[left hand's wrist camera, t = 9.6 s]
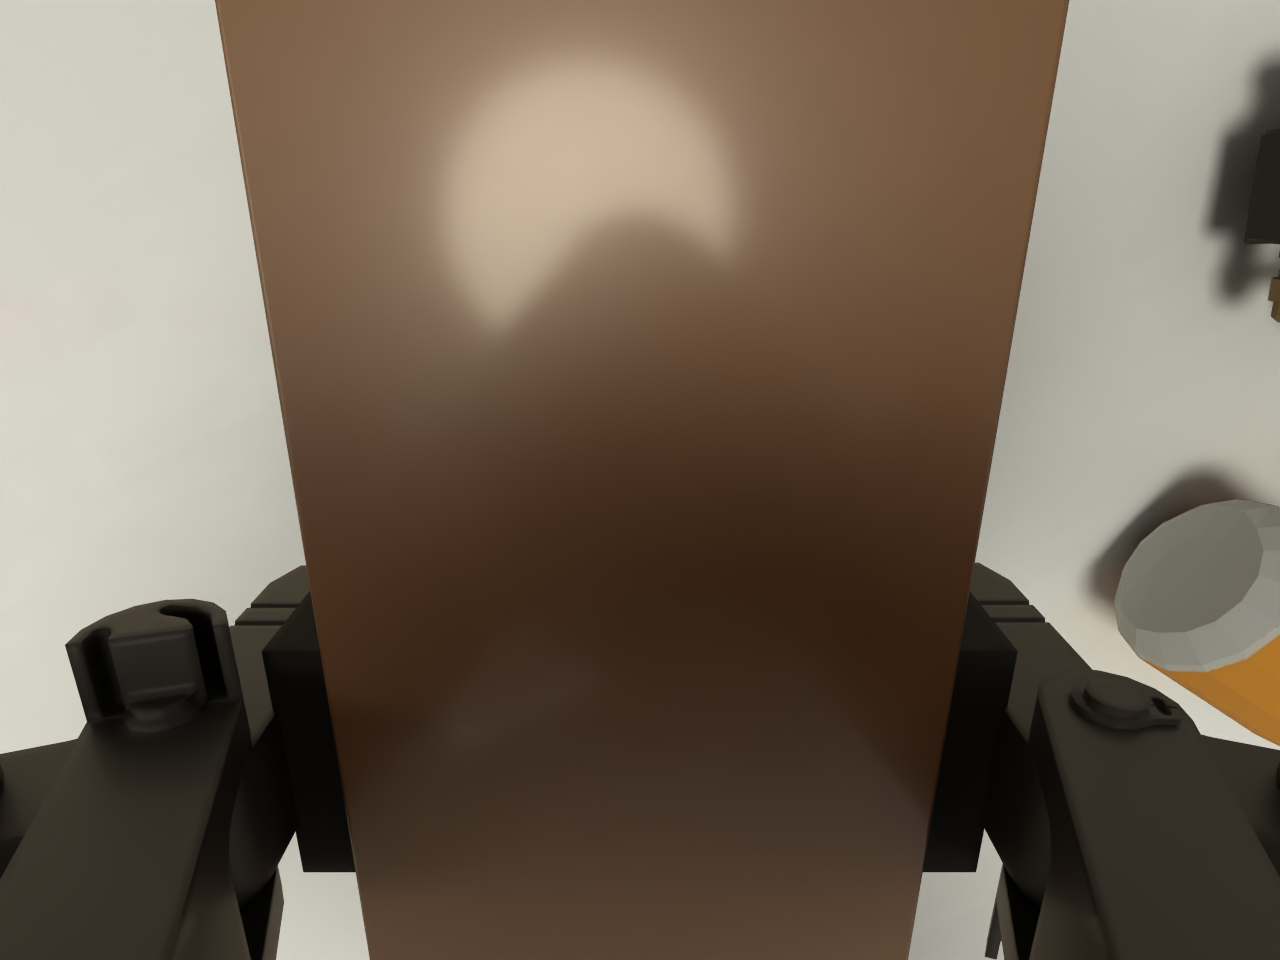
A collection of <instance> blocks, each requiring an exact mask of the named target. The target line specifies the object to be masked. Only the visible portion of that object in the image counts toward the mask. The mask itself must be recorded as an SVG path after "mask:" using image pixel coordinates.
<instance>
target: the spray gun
mask: <svg viewBox="0 0 1280 960" xmlns="http://www.w3.org/2000/svg"><path fill="white" fill-rule="evenodd" d="M1244 241H1245V242H1246V243H1247V244H1268V243H1273V244H1280V128H1279V129H1275V130H1270V131H1266V132H1265V133H1264V134H1263V135H1262V137H1261V143H1260V149H1259V155H1258V161H1257V167H1256V173H1255V179H1254V185H1253V191H1252V197H1251V204H1250V210H1249V216H1248V222H1247V228H1246V234H1245V240H1244ZM1279 258H1280V253H1279ZM1268 300H1269V301H1274V302H1273V307H1272V313H1271V317H1273V318H1274V319H1275V320H1276V321H1277V322H1280V270H1279V274H1278V277H1273V278H1272V280H1271V285H1270V291H1269V296H1268ZM1114 605H1115V611H1116V618H1117V624H1118V630H1119V632H1120V634H1121V635H1122V636H1123V638H1124V639H1125V640H1126V642H1127V643H1128V644H1129V646H1130V647H1131V648H1132V649H1133V651H1134V652H1135V653H1136V655H1137V656H1138V657H1139V658H1140V659H1142V660H1143V661H1145V662H1146V663H1148V664H1149V665H1151V666H1152V667H1154V668H1156V669H1157V670H1159V671H1160V672H1162V673H1163V674H1165V675H1166V676H1168V677H1169V678H1171V679H1172V680H1174V681H1175V682H1177V683H1178V684H1180V685H1181V686H1183V687H1184V688H1186V689H1187V690H1189V691H1190V692H1192V693H1194V694H1195V695H1197V696H1198V697H1200V698H1201V699H1203V700H1204V701H1206V702H1207V703H1209V704H1210V705H1212V706H1213V707H1215V708H1216V709H1218V710H1219V711H1221V712H1222V713H1224V714H1225V715H1227V716H1228V717H1230V718H1232V719H1233V720H1235V721H1236V722H1238V723H1239V724H1241V725H1242V726H1244V727H1245V728H1247V729H1248V730H1250V731H1251V732H1253V733H1254V734H1256V735H1258V736H1260V737H1262V738H1264V739H1266V740H1268V741H1270V742H1272V743H1274V744H1276V745H1278V746H1280V508H1279V507H1278V506H1273V505H1269V504H1263V503H1258V502H1252V501H1247V500H1241V499H1234V500H1228V501H1222V502H1216V503H1210V504H1204V505H1200V506H1198V507H1196V508H1194V509H1191V510H1189V511H1187V512H1185V513H1183V514H1181V515H1179V516H1176V517H1174V518H1172V519H1170V520H1168V521H1166V522H1164V523H1162V524H1161V525H1160V526H1159V527H1157V528H1156V529H1155V530H1154V531H1153V532H1152V533H1150V534H1149V535H1148V536H1147V537H1146V538H1145V539H1143V540H1142V541H1141V542H1140V543H1139V545H1138V546H1137V548H1136V549H1135V551H1134V552H1133V554H1132V555H1131V557H1130V558H1129V560H1128V561H1127V563H1126V564H1125V566H1124V568H1123V571H1122V574H1121V578H1120V582H1119V585H1118V589H1117V593H1116V597H1115V600H1114Z"/></svg>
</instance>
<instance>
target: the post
mask: <svg viewBox="0 0 1280 960" xmlns="http://www.w3.org/2000/svg"><path fill="white" fill-rule="evenodd" d="M215 3H216V9H217V15H218V21H219V27H220V34H221V40H222V46H223V52H224V58H225V65H226V71H227V77H228V83H229V89H230V96H231V102H232V108H233V114H234V120H235V127H236V133H237V139H238V145H239V151H240V158H241V164H242V170H243V176H244V182H245V189H246V195H247V201H248V207H249V213H250V220H251V226H252V232H253V238H254V244H255V250H256V257H257V263H258V269H259V275H260V281H261V288H262V294H263V300H264V306H265V312H266V319H267V325H268V331H269V337H270V343H271V350H272V356H273V362H274V368H275V374H276V381H277V387H278V393H279V399H280V405H281V412H282V418H283V424H284V430H285V436H286V443H287V449H288V455H289V461H290V467H291V474H292V480H293V486H294V492H295V498H296V504H297V511H298V517H299V523H300V529H301V535H302V542H303V548H304V554H305V560H306V566H307V573H308V579H309V585H310V591H311V597H312V604H313V610H314V616H315V622H316V628H317V635H318V641H319V647H320V653H321V659H322V666H323V672H324V678H325V684H326V690H327V697H328V703H329V709H330V715H331V721H332V727H333V734H334V740H335V746H336V752H337V758H338V765H339V771H340V777H341V783H342V789H343V796H344V802H345V808H346V814H347V820H348V827H349V833H350V839H351V845H352V851H353V858H354V864H355V870H356V876H357V882H358V889H359V895H360V901H361V907H362V913H363V920H364V926H365V932H366V938H367V944H368V950H369V957H370V960H908V955H909V949H910V943H911V937H912V931H913V925H914V919H915V914H916V908H917V902H918V896H919V890H920V884H921V878H922V872H923V866H924V860H925V854H926V848H927V842H928V836H929V830H930V824H931V818H932V813H933V807H934V801H935V795H936V789H937V783H938V777H939V771H940V765H941V759H942V753H943V747H944V741H945V735H946V729H947V723H948V717H949V712H950V706H951V700H952V694H953V688H954V682H955V676H956V670H957V664H958V658H959V652H960V646H961V640H962V634H963V628H964V622H965V616H966V611H967V605H968V599H969V593H970V587H971V581H972V575H973V569H974V563H975V557H976V551H977V545H978V539H979V533H980V527H981V521H982V515H983V510H984V504H985V498H986V492H987V486H988V480H989V474H990V468H991V462H992V456H993V450H994V444H995V438H996V432H997V426H998V420H999V414H1000V409H1001V403H1002V397H1003V391H1004V385H1005V379H1006V373H1007V367H1008V361H1009V355H1010V349H1011V343H1012V337H1013V331H1014V325H1015V319H1016V313H1017V308H1018V302H1019V296H1020V290H1021V284H1022V278H1023V272H1024V266H1025V260H1026V254H1027V248H1028V242H1029V236H1030V230H1031V224H1032V218H1033V212H1034V207H1035V201H1036V195H1037V189H1038V183H1039V177H1040V171H1041V165H1042V159H1043V153H1044V147H1045V141H1046V135H1047V129H1048V123H1049V117H1050V111H1051V106H1052V100H1053V94H1054V88H1055V82H1056V76H1057V70H1058V64H1059V58H1060V52H1061V46H1062V40H1063V34H1064V28H1065V22H1066V16H1067V10H1068V4H1069V0H215Z"/></svg>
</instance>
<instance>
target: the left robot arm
mask: <svg viewBox="0 0 1280 960" xmlns="http://www.w3.org/2000/svg"><path fill="white" fill-rule="evenodd" d="M65 646H66V650H67V653H68V657H69V660H70V664H71V667H72V671H73V674H74V678H75V681H76V685H77V688H78V691H79V695H80V698H81V702H82V705H83V709H84V712H85V716H86V719H87V723H86V725H85V727H84V729H83V730H82V732H81V734H80V736H79V738H78V739H75V740H71V741H66V742H61V743H56V744H51V745H45V746H40V747H35V748H30V749H25V750H19V751H14V752H9V753H4V754H0V960H276V954H277V947H278V940H279V933H280V926H281V919H282V912H283V905H284V899H283V891H282V884H281V879H280V874H279V869H278V863H279V862H280V860H281V858H282V856H283V854H284V852H285V850H286V848H287V846H288V844H289V843H290V841H291V839H292V837H293V835H294V833H295V831H296V835H297V841H298V846H299V851H300V856H301V862H302V867H303V872H356V870H355V864H354V858H353V851H352V845H351V839H350V833H349V827H348V820H347V814H346V808H345V802H344V796H343V789H342V783H341V777H340V771H339V765H338V758H337V752H336V746H335V740H334V734H333V727H332V721H331V715H330V709H329V703H328V697H327V690H326V684H325V678H324V672H323V666H322V659H321V653H320V647H319V641H318V635H317V628H316V622H315V616H314V610H313V604H312V597H311V591H310V585H309V579H308V573H307V566H299V567H298V568H296V569H294V570H292V571H291V572H289V573H287V574H285V575H284V576H282V577H280V578H278V579H276V580H275V581H273V582H271V583H270V584H269V585H268V586H267V587H266V588H265V589H264V590H263V591H262V592H261V593H260V595H259V596H258V597H257V598H256V599H255V600H254V601H253V602H252V603H251V608H247V609H246V610H245V611H244V612H243V613H242V614H241V615H240V616H239V618H238V619H237V620H236V621H235V626H230V627H229V625H228V620H227V615H226V611H225V610H223V609H222V608H221V607H219V606H218V605H216V604H215V603H212V602H207V601H201V600H196V599H180V600H164V601H159V602H154V603H149V604H143V605H138V606H134V607H131V608H129V609H126V610H123V611H120V612H117V613H114V614H111V615H109V616H106V617H104V618H102V619H100V620H98V621H97V622H95V623H93V624H91V625H89V626H87V627H86V628H84V629H82V630H81V631H79V632H78V633H77V634H76V635H75V636H74V637H73V638H72V639H71V640H70V641H69V642H68V643H67V644H66V645H65ZM984 828H985V830H986V832H987V834H988V836H989V838H990V839H991V841H992V843H993V845H994V847H995V849H996V851H997V853H998V855H999V856H1000V858H1001V860H1002V862H1003V864H1002V869H1001V874H1000V879H999V884H998V889H997V894H996V899H995V904H994V908H993V913H992V918H991V923H990V928H989V933H988V938H987V945H986V952H985V957H988V958H993V959H997V955H998V950H999V945H1000V941H1002V945H1003V952H1004V959H1005V960H1280V750H1276V749H1270V748H1265V747H1260V746H1255V745H1249V744H1244V743H1239V742H1234V741H1228V740H1223V739H1218V738H1213V737H1208V736H1204V735H1201V734H1200V732H1199V731H1198V729H1197V727H1196V725H1195V723H1194V722H1193V720H1192V719H1191V718H1190V717H1189V716H1188V714H1187V713H1186V712H1185V711H1184V710H1183V709H1182V708H1181V706H1180V705H1179V704H1178V703H1176V702H1175V701H1173V700H1171V699H1170V698H1168V697H1167V696H1165V695H1164V694H1162V693H1161V692H1159V691H1158V690H1156V689H1154V688H1152V687H1150V686H1147V685H1145V684H1142V683H1140V682H1137V681H1135V680H1133V679H1130V678H1128V677H1124V676H1120V675H1116V674H1111V673H1107V672H1103V671H1098V670H1092V669H1091V668H1090V667H1089V666H1088V664H1087V663H1086V662H1085V661H1084V660H1083V659H1082V658H1081V657H1080V656H1079V655H1078V654H1077V652H1076V651H1075V650H1074V649H1073V648H1072V647H1071V646H1070V645H1069V644H1068V643H1067V642H1066V641H1065V639H1064V638H1063V637H1062V636H1061V635H1060V634H1059V633H1058V632H1057V631H1056V630H1055V629H1054V628H1053V626H1052V625H1051V624H1050V623H1045V618H1044V617H1043V616H1042V615H1041V613H1040V612H1039V611H1038V610H1037V609H1036V608H1035V607H1034V606H1033V605H1029V600H1028V599H1027V598H1026V597H1025V596H1024V595H1023V594H1022V593H1021V592H1020V591H1019V590H1018V588H1017V587H1016V586H1015V585H1014V584H1013V583H1012V582H1011V581H1010V580H1008V579H1007V578H1005V577H1003V576H1001V575H1000V574H998V573H996V572H994V571H992V570H991V569H989V568H987V567H985V566H983V565H982V564H980V563H974V569H973V575H972V581H971V587H970V593H969V599H968V605H967V611H966V616H965V622H964V628H963V634H962V640H961V646H960V652H959V658H958V664H957V670H956V676H955V682H954V688H953V694H952V700H951V706H950V712H949V717H948V723H947V729H946V735H945V741H944V747H943V753H942V759H941V765H940V771H939V777H938V783H937V789H936V795H935V801H934V807H933V813H932V818H931V824H930V830H929V836H928V842H927V848H926V854H925V860H924V866H923V872H976V869H977V864H978V858H979V853H980V848H981V843H982V837H983V832H984Z"/></svg>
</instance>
